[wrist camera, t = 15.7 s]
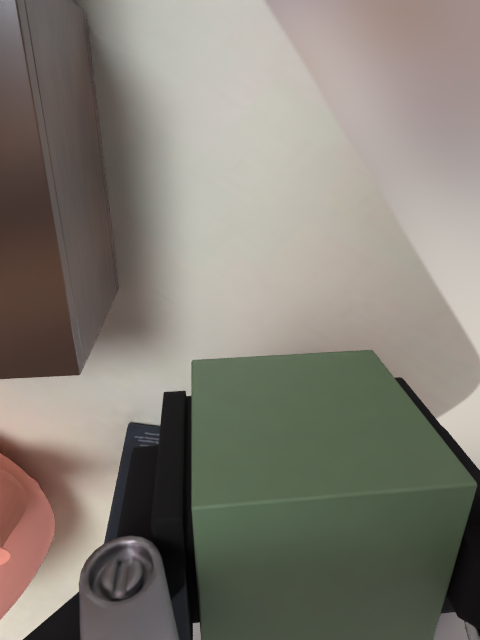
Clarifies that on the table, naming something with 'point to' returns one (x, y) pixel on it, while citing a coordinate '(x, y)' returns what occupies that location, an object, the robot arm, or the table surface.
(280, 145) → the table surface
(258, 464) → the block
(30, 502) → the teapot
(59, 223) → the cabinet
